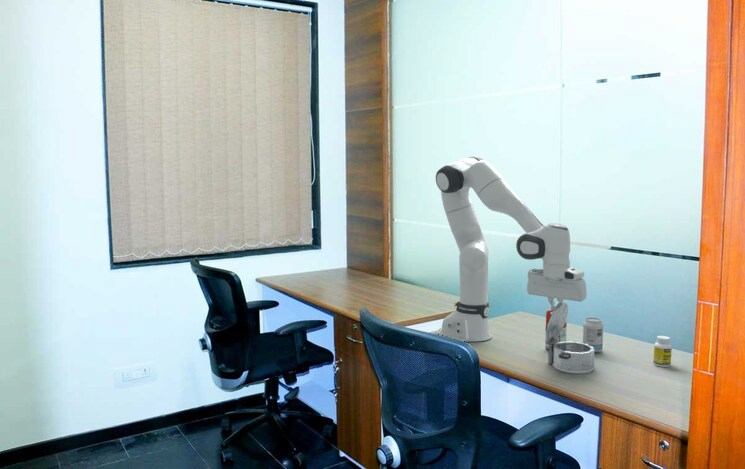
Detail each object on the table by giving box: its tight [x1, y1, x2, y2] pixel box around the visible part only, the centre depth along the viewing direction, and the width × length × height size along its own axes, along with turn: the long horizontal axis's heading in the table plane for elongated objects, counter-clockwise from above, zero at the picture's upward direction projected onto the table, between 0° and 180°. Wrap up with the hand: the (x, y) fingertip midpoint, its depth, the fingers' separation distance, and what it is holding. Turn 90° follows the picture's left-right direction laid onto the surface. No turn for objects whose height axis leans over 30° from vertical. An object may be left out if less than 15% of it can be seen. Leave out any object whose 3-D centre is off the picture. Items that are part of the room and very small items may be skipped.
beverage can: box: [582, 317, 604, 354], centre depth 220 cm, size 7×7×12 cm
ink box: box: [545, 309, 568, 351], centre depth 224 cm, size 4×8×15 cm, turn 123°
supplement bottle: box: [652, 335, 673, 368], centre depth 205 cm, size 5×5×10 cm
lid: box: [545, 301, 569, 345], centre depth 207 cm, size 15×15×4 cm
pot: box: [547, 340, 595, 375], centre depth 205 cm, size 15×17×7 cm
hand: (555, 310), depth 206 cm, fingers closed
